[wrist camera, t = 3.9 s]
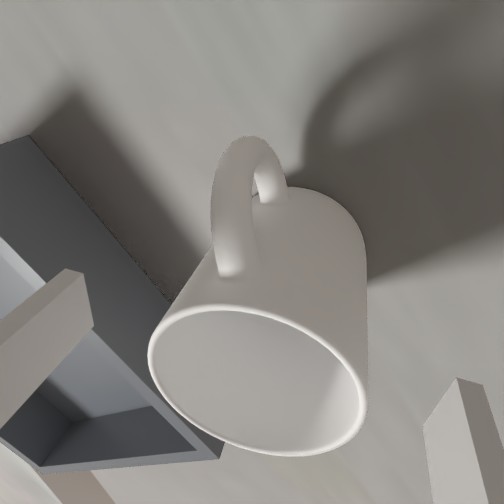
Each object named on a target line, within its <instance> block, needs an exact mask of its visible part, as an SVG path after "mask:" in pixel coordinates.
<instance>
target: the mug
mask: <svg viewBox="0 0 504 504" xmlns="http://www.w3.org/2000/svg"><path fill="white" fill-rule="evenodd" d="M253 177H254V178H255V181H256V184H257V188H258V192H259V194H257V195H255V196H254V197H252V184H253ZM210 216H211V232H212V240H213V245H212V246H211V247H210V249H209V250H208V252H207V253H206V255H205V256H204V258H203V259H202V261H201V262H200V264H199V265H198V267H197V268H196V270H195V271H194V273H193V274H192V276H191V277H190V279H189V280H188V281H187V283H186V284H185V286H184V287H183V289H182V290H181V292H180V293H179V295H178V296H177V298H176V299H175V301H174V302H173V304H172V305H171V307H170V308H169V310H168V311H167V312H166V314H165V315H164V317H163V318H162V320H161V321H160V323H159V324H158V326H157V327H156V329H155V331H154V332H153V334H152V336H151V339H150V342H149V345H148V354H147V357H148V366H149V370H150V373H151V376H152V378H153V381H154V383H155V384H156V386H157V388H158V390H159V391H160V393H161V394H162V395H163V397H164V398H165V399H166V400H167V401H168V403H169V404H170V405H171V406H172V407H173V408H174V409H175V410H176V411H177V412H178V413H179V414H181V415H182V416H183V417H184V418H186V419H187V420H188V421H189V422H191V423H192V424H194V425H195V426H197V427H198V428H200V429H201V430H203V431H205V432H206V433H208V434H210V435H212V436H214V437H216V438H218V439H220V440H222V441H224V442H227V443H229V444H232V445H234V446H237V447H240V448H243V449H247V450H250V451H254V452H258V453H264V454H269V455H277V456H292V457H295V456H309V455H317V454H321V453H325V452H328V451H331V450H334V449H336V448H338V447H340V446H342V445H344V444H346V443H347V442H348V441H350V440H351V439H352V438H353V437H354V436H355V435H356V434H357V433H358V432H359V431H360V429H361V427H362V425H363V424H364V422H365V419H366V416H367V412H368V403H369V392H368V327H367V261H366V251H365V244H364V240H363V237H362V234H361V231H360V229H359V227H358V225H357V223H356V222H355V220H354V219H353V217H352V216H351V215H350V214H349V212H348V211H347V210H346V209H345V208H344V207H343V206H341V205H340V204H339V203H338V202H336V201H335V200H333V199H332V198H330V197H328V196H326V195H324V194H322V193H319V192H316V191H313V190H310V189H305V188H299V187H287V183H286V179H285V176H284V172H283V169H282V166H281V164H280V161H279V159H278V157H277V155H276V153H275V152H274V150H273V149H272V148H271V146H270V145H269V144H268V143H267V142H266V141H265V140H263V139H260V138H258V137H256V136H243V137H241V138H239V139H237V140H235V141H233V142H232V143H231V145H230V146H229V147H228V148H227V149H226V150H225V151H224V153H223V155H222V157H221V158H220V160H219V163H218V166H217V169H216V173H215V177H214V182H213V187H212V195H211V215H210Z"/></svg>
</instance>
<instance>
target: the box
mask: <svg viewBox="0 0 504 504" xmlns="http://www.w3.org/2000/svg"><path fill="white" fill-rule="evenodd" d="M65 268H66V269H69V270H73V271H77V272H80V273H83V274H84V279H85V284H86V289H87V294H88V298H89V303H90V308H91V313H92V318H93V323H94V326H93V327H92V329H91V330H90V331H89V332H88V333H87V334H86V335H85V336H84V337H83V338H82V340H81V341H80V342H79V343H78V344H77V345H76V346H75V347H74V348H73V349H72V351H71V352H70V353H69V354H68V355H67V356H66V357H65V358H64V359H63V361H62V362H61V363H60V364H59V365H58V366H57V367H56V368H55V369H54V370H53V372H52V373H51V374H50V375H49V376H48V377H47V378H46V379H45V380H44V381H43V383H42V384H41V385H40V386H39V387H38V388H37V389H36V390H35V391H34V392H33V394H32V395H31V396H30V397H29V398H28V399H27V400H26V401H25V402H24V403H23V405H22V406H21V407H20V408H19V409H18V410H17V411H16V412H15V413H14V414H13V416H12V417H11V418H10V419H9V420H8V421H7V422H6V423H5V424H4V425H3V427H2V428H1V429H0V442H1V443H2V444H3V445H5V446H6V447H7V448H9V449H10V450H11V451H13V452H14V453H15V454H17V455H18V456H19V457H20V458H22V459H23V460H24V461H26V462H27V463H28V464H30V465H31V466H32V467H34V468H35V469H36V470H37V471H39V472H40V473H41V474H51V473H62V472H74V471H86V470H98V469H110V468H121V467H133V466H144V465H156V464H168V463H179V462H191V461H203V460H214V459H219V458H220V455H221V452H222V449H223V446H224V443H225V442H224V441H222V440H220V439H218V438H216V437H214V436H212V435H210V434H208V433H206V432H205V431H203V430H201V429H200V428H198V427H197V426H195V425H194V424H192V423H191V422H189V421H188V420H187V419H186V418H184V417H183V416H182V415H181V414H179V413H178V412H177V411H176V410H175V409H174V408H173V407H172V406H171V405H170V404H169V403H168V401H167V400H166V399H165V398H164V397H163V395H162V394H161V393H160V391H159V390H158V388H157V386H156V384H155V383H154V381H153V378H152V376H151V373H150V370H149V366H148V357H147V354H148V345H149V342H150V339H151V336H152V334H153V332H154V331H155V329H156V327H157V326H158V324H159V323H160V321H161V320H162V318H163V317H164V315H165V314H166V312H167V311H168V310H169V308H170V307H171V303H170V302H169V301H168V300H167V299H166V297H165V296H164V295H163V294H162V293H161V292H160V290H159V289H158V288H157V287H156V286H155V284H154V283H153V282H152V281H151V280H150V279H149V277H148V276H147V275H146V274H145V273H144V271H143V270H142V269H141V268H140V267H139V266H138V264H137V263H136V262H135V261H134V260H133V258H132V257H131V256H130V255H129V254H128V253H127V251H126V250H125V249H124V248H123V247H122V245H121V244H120V243H119V242H118V241H117V240H116V238H115V237H114V236H113V235H112V234H111V232H110V231H109V230H108V229H107V228H106V227H105V225H104V224H103V223H102V222H101V221H100V219H99V218H98V217H97V216H96V215H95V214H94V212H93V211H92V210H91V209H90V208H89V206H88V205H87V204H86V203H85V202H84V201H83V199H82V198H81V197H80V196H79V195H78V193H77V192H76V191H75V190H74V189H73V188H72V186H71V185H70V184H69V183H68V182H67V180H66V179H65V178H64V177H63V176H62V175H61V173H60V172H59V171H58V170H57V169H56V167H55V166H54V165H53V164H52V163H51V162H50V160H49V159H48V158H47V157H46V156H45V154H44V153H43V152H42V151H41V150H40V149H39V147H38V146H37V145H36V144H35V143H34V141H33V140H32V139H31V138H30V137H29V136H25V137H22V138H19V139H16V140H13V141H10V142H7V143H4V144H1V145H0V320H2V319H3V318H4V317H5V316H7V315H8V314H9V313H10V312H12V311H13V310H14V309H15V308H17V307H18V306H19V305H20V304H22V303H23V302H24V301H25V300H27V299H28V298H29V297H30V296H32V295H33V294H34V293H35V292H37V291H38V290H39V289H40V288H41V287H43V286H44V285H45V284H46V283H48V282H49V281H50V280H51V279H53V278H54V277H55V276H56V275H58V274H59V273H60V272H61V271H63V270H64V269H65Z"/></svg>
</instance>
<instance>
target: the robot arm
mask: <svg viewBox="0 0 504 504" xmlns="http://www.w3.org/2000/svg"><path fill="white" fill-rule="evenodd" d="M93 326H94V323H93V318H92V313H91V308H90V303H89V298H88V294H87V289H86V284H85V279H84V274H83V273H80V272H77V271H73V270H69V269H66V268H65V269H64V270H63V271H61V272H60V273H59V274H58V275H56V276H55V277H54V278H53V279H51V280H50V281H49V282H48V283H46V284H45V285H44V286H43V287H41V288H40V289H39V290H38V291H37V292H35V293H34V294H33V295H32V296H30V297H29V298H28V299H27V300H25V301H24V302H23V303H22V304H20V305H19V306H18V307H17V308H15V309H14V310H13V311H12V312H10V313H9V314H8V315H7V316H5V317H4V318H3V319H2V320H0V429H1V428H2V427H3V425H4V424H5V423H6V422H7V421H8V420H9V419H10V418H11V417H12V416H13V414H14V413H15V412H16V411H17V410H18V409H19V408H20V407H21V406H22V405H23V403H24V402H25V401H26V400H27V399H28V398H29V397H30V396H31V395H32V394H33V392H34V391H35V390H36V389H37V388H38V387H39V386H40V385H41V384H42V383H43V381H44V380H45V379H46V378H47V377H48V376H49V375H50V374H51V373H52V372H53V370H54V369H55V368H56V367H57V366H58V365H59V364H60V363H61V362H62V361H63V359H64V358H65V357H66V356H67V355H68V354H69V353H70V352H71V351H72V349H73V348H74V347H75V346H76V345H77V344H78V343H79V342H80V341H81V340H82V338H83V337H84V336H85V335H86V334H87V333H88V332H89V331H90V330H91V329H92V327H93ZM423 433H424V440H425V447H426V454H427V461H428V468H429V475H430V482H431V490H432V497H433V504H504V449H503V446H502V443H501V440H500V437H499V434H498V431H497V428H496V425H495V421H494V418H493V415H492V412H491V409H490V406H489V403H488V400H487V397H486V394H485V391H484V388H483V385H481V384H478V383H474V382H470V381H467V380H463V379H460V378H456V379H455V380H454V382H453V383H452V385H451V386H450V387H449V389H448V390H447V392H446V393H445V395H444V396H443V397H442V399H441V400H440V402H439V403H438V404H437V406H436V407H435V409H434V410H433V412H432V413H431V414H430V416H429V417H428V419H427V420H426V422H425V423H424V424H423Z"/></svg>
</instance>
